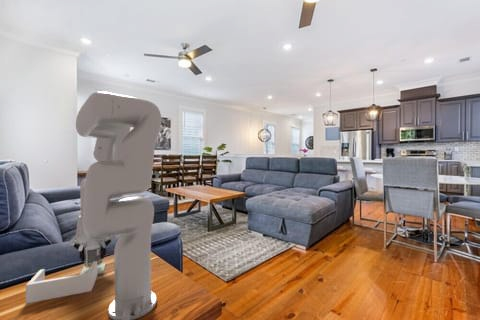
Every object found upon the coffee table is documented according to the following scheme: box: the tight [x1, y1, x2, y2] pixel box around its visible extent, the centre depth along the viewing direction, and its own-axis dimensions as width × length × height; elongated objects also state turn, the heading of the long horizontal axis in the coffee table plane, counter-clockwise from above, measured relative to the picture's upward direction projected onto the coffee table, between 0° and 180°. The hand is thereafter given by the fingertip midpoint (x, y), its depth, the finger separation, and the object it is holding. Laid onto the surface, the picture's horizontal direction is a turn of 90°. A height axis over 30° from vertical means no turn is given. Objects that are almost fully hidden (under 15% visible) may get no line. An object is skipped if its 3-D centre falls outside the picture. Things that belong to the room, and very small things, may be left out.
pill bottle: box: [83, 241, 103, 268], centre depth 87 cm, size 6×6×10 cm
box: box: [25, 261, 98, 304], centre depth 75 cm, size 10×16×6 cm, turn 113°
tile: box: [79, 262, 107, 275], centre depth 87 cm, size 8×8×1 cm
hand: (93, 258), depth 87 cm, fingers closed on pill bottle, 5 cm apart
